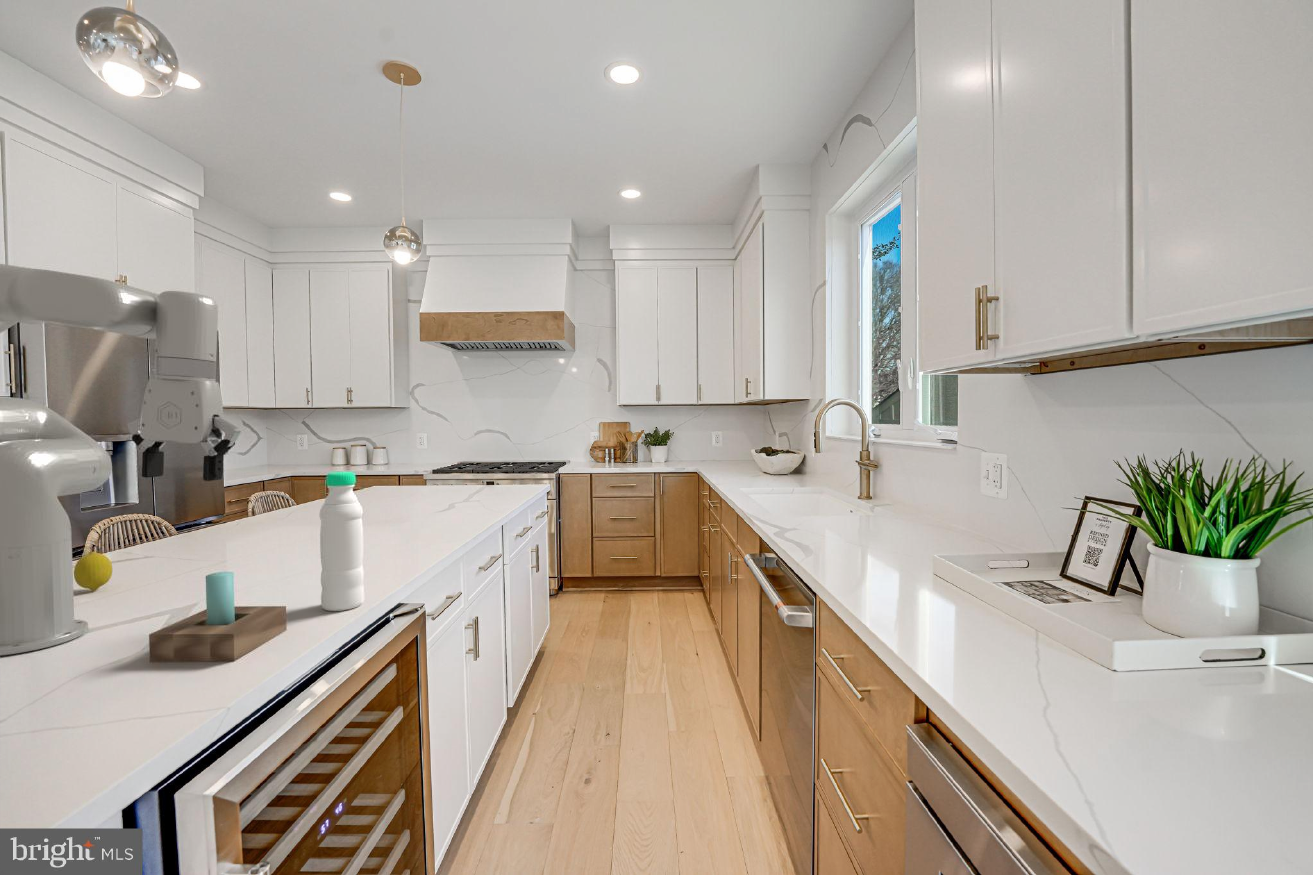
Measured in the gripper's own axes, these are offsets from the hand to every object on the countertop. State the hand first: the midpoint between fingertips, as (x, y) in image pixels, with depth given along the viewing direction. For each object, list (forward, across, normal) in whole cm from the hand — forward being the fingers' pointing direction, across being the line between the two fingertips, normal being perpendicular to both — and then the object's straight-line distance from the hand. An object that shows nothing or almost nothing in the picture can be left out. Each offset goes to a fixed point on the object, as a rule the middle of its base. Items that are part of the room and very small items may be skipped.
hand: (182, 478), depth 91 cm
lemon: (+28, -37, +23) cm, 51 cm away
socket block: (+25, +10, -4) cm, 27 cm away
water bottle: (+25, +19, +14) cm, 34 cm away
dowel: (+25, +10, -4) cm, 27 cm away
